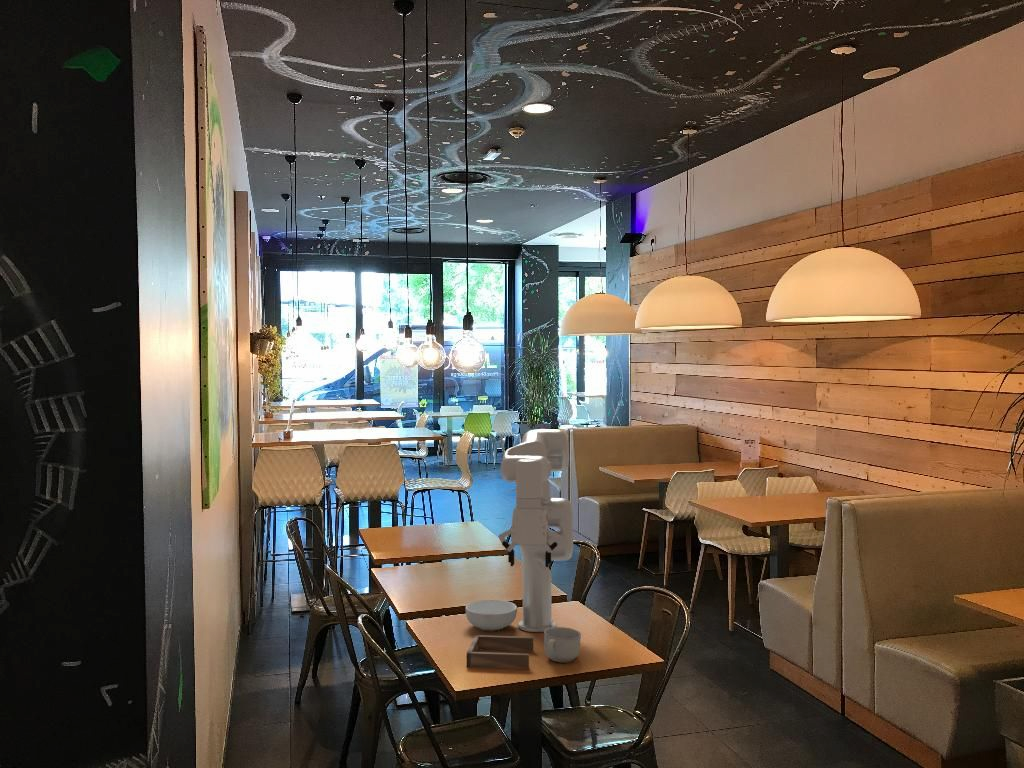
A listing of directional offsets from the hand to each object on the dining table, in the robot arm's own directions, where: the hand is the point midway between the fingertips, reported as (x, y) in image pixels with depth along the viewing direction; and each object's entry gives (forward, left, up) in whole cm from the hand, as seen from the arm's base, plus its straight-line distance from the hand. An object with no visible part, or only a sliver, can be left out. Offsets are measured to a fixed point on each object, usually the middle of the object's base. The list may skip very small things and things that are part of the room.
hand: (529, 565), depth 227 cm
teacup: (-13, +7, -31) cm, 34 cm away
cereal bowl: (-42, -17, -31) cm, 55 cm away
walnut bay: (-13, -9, -30) cm, 34 cm away
